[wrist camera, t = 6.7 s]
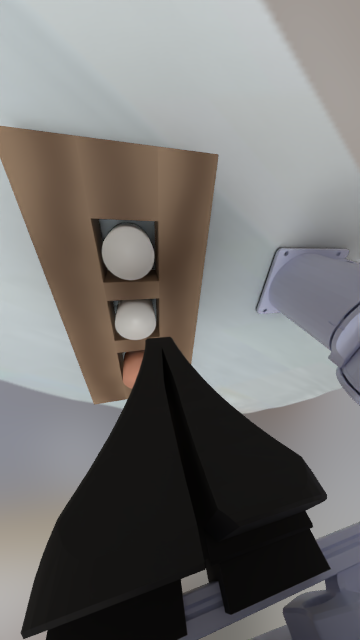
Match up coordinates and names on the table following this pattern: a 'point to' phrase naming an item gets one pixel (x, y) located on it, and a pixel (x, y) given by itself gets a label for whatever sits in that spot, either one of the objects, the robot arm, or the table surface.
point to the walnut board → (86, 241)
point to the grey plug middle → (135, 318)
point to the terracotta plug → (132, 367)
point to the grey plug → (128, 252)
